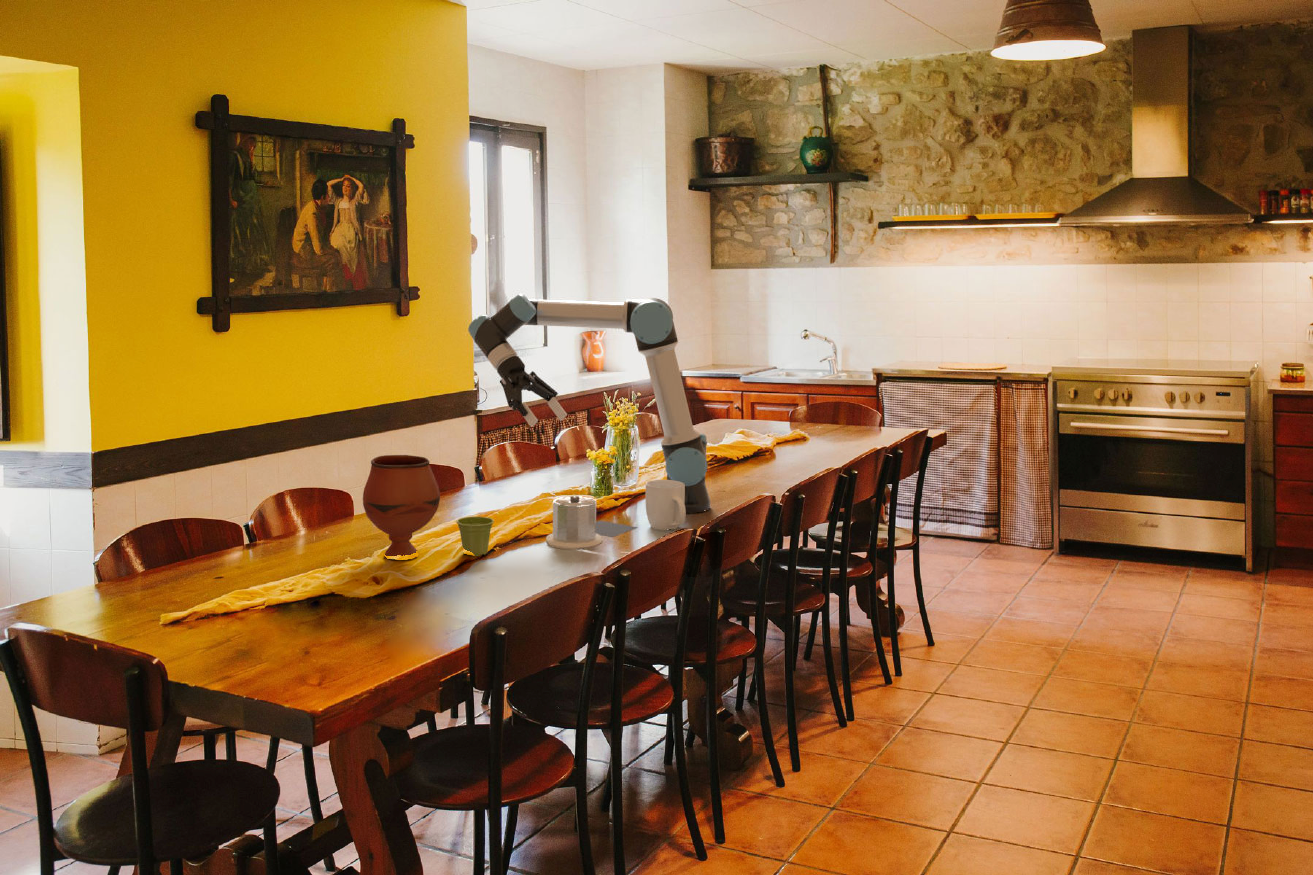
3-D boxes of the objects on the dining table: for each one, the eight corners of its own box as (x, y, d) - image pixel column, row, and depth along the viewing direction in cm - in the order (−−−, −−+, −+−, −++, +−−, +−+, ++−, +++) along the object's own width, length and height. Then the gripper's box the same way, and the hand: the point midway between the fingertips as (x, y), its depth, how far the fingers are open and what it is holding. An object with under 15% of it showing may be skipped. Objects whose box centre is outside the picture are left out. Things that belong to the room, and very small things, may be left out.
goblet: (414, 570, 280) (413, 470, 276) (347, 561, 286) (344, 462, 282) (454, 551, 298) (453, 456, 293) (390, 542, 304) (388, 449, 300)
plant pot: (458, 548, 300) (458, 516, 299) (494, 548, 301) (494, 516, 300) (455, 558, 291) (454, 525, 290) (492, 558, 292) (492, 525, 291)
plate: (568, 531, 319) (568, 515, 319) (613, 540, 312) (613, 523, 311) (534, 543, 307) (535, 526, 306) (581, 552, 299) (581, 535, 298)
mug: (699, 534, 321) (700, 488, 318) (666, 539, 315) (667, 492, 312) (669, 522, 333) (670, 478, 331) (637, 526, 327) (638, 481, 325)
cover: (569, 530, 317) (570, 490, 315) (603, 536, 311) (604, 495, 309) (544, 538, 307) (545, 497, 305) (579, 545, 302) (579, 503, 300)
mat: (599, 522, 331) (599, 520, 331) (638, 529, 324) (638, 527, 324) (573, 531, 320) (573, 529, 320) (612, 539, 313) (612, 537, 313)
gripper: (526, 367, 340) (567, 423, 335) (471, 375, 319) (514, 435, 314) (541, 351, 337) (582, 407, 332) (486, 358, 316) (529, 417, 311)
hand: (549, 420), depth 323 cm, fingers open, 13 cm apart
